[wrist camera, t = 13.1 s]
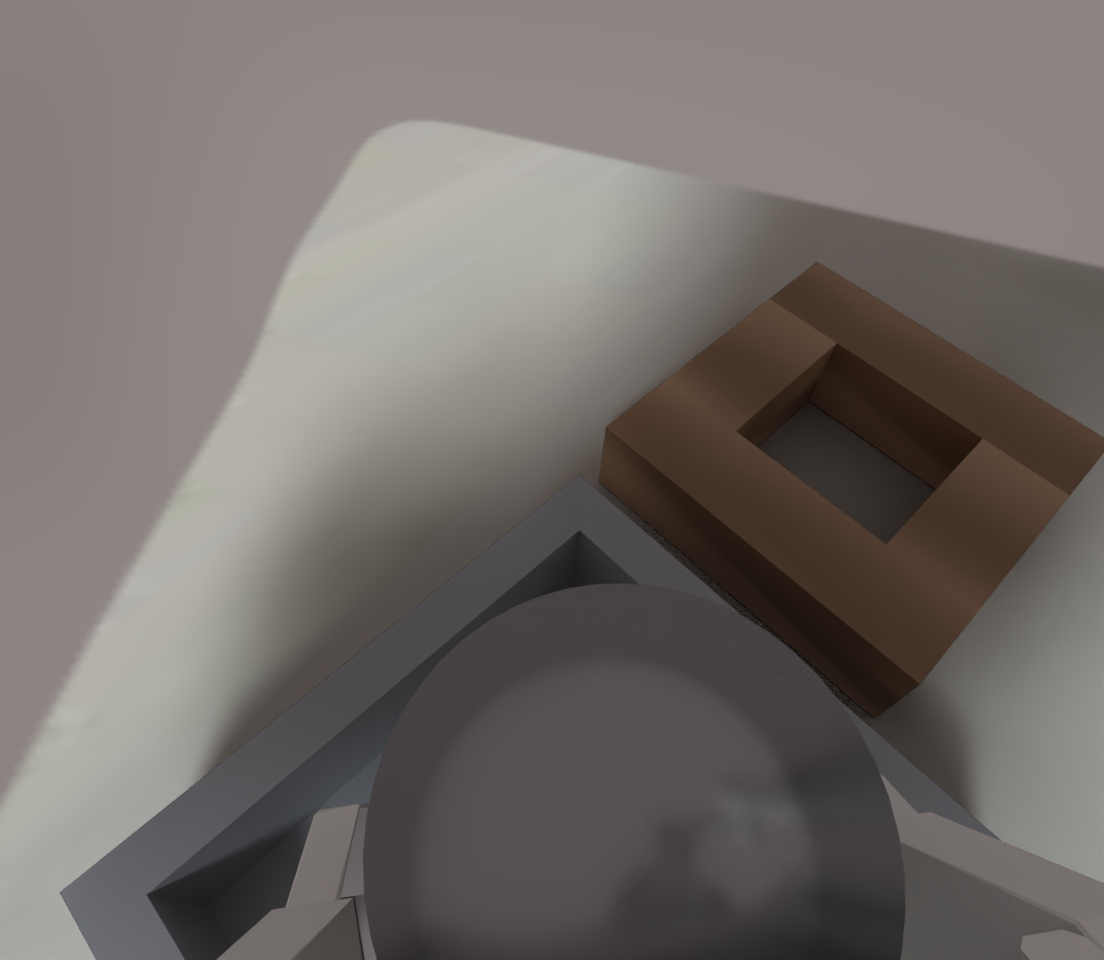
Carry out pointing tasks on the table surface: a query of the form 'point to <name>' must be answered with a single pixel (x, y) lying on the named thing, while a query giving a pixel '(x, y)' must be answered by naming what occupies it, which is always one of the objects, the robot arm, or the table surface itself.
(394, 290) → the table surface
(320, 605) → the table surface
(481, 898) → the lock pin
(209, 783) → the pin tray
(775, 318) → the socket block
